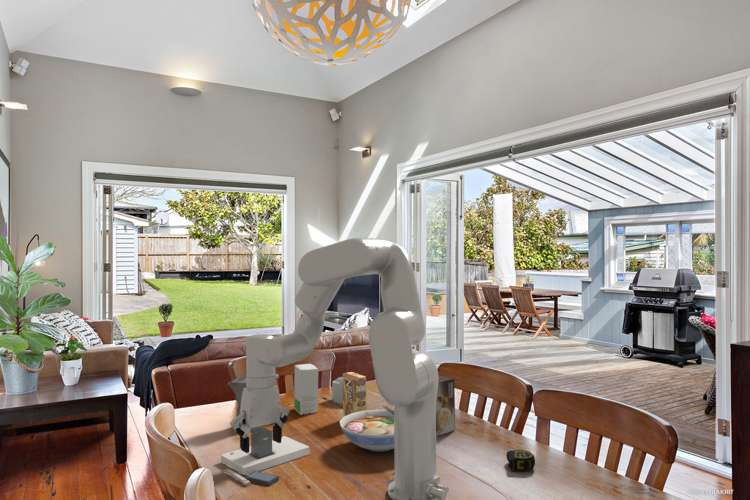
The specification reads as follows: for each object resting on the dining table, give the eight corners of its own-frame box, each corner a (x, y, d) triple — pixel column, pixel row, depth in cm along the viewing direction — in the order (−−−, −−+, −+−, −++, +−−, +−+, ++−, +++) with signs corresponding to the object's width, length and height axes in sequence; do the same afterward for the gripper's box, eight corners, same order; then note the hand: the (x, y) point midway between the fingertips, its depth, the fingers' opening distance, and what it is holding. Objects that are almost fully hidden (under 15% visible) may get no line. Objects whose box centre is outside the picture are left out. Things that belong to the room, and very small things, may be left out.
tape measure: (506, 462, 136) (505, 447, 136) (533, 463, 135) (533, 449, 135) (508, 473, 129) (508, 458, 129) (536, 474, 128) (536, 459, 128)
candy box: (367, 424, 167) (367, 376, 167) (356, 426, 165) (355, 378, 165) (353, 417, 175) (352, 371, 175) (342, 419, 172) (341, 373, 172)
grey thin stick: (250, 484, 124) (250, 481, 124) (245, 486, 123) (245, 482, 123) (228, 471, 131) (228, 467, 131) (223, 472, 131) (223, 469, 131)
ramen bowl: (328, 438, 154) (328, 410, 155) (399, 428, 163) (399, 402, 163) (355, 470, 131) (355, 438, 131) (436, 457, 139) (436, 426, 139)
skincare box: (293, 408, 184) (293, 364, 185) (311, 406, 187) (311, 363, 187) (300, 415, 177) (300, 369, 177) (319, 412, 180) (318, 367, 180)
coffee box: (440, 425, 165) (440, 374, 165) (456, 430, 160) (455, 378, 160) (419, 431, 159) (419, 379, 160) (435, 437, 154) (434, 383, 155)
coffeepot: (232, 435, 158) (231, 375, 158) (223, 426, 166) (223, 369, 166) (280, 426, 166) (279, 369, 166) (270, 418, 174) (269, 364, 174)
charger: (272, 461, 138) (272, 431, 138) (259, 465, 135) (258, 434, 135) (264, 457, 140) (264, 427, 141) (251, 461, 138) (250, 431, 138)
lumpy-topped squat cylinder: (346, 395, 202) (346, 372, 202) (373, 400, 195) (373, 377, 195) (328, 401, 194) (328, 378, 194) (356, 407, 186) (356, 382, 186)
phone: (279, 479, 126) (279, 476, 126) (269, 485, 123) (269, 482, 123) (254, 474, 130) (254, 470, 130) (244, 480, 126) (244, 476, 126)
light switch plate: (309, 454, 142) (309, 446, 142) (244, 476, 129) (244, 467, 129) (284, 442, 151) (284, 435, 151) (220, 462, 137) (220, 454, 137)
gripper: (280, 374, 147) (281, 435, 146) (224, 385, 135) (224, 451, 134) (296, 378, 141) (296, 441, 141) (238, 390, 129) (239, 459, 129)
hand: (261, 446), depth 138 cm, fingers open, 9 cm apart
